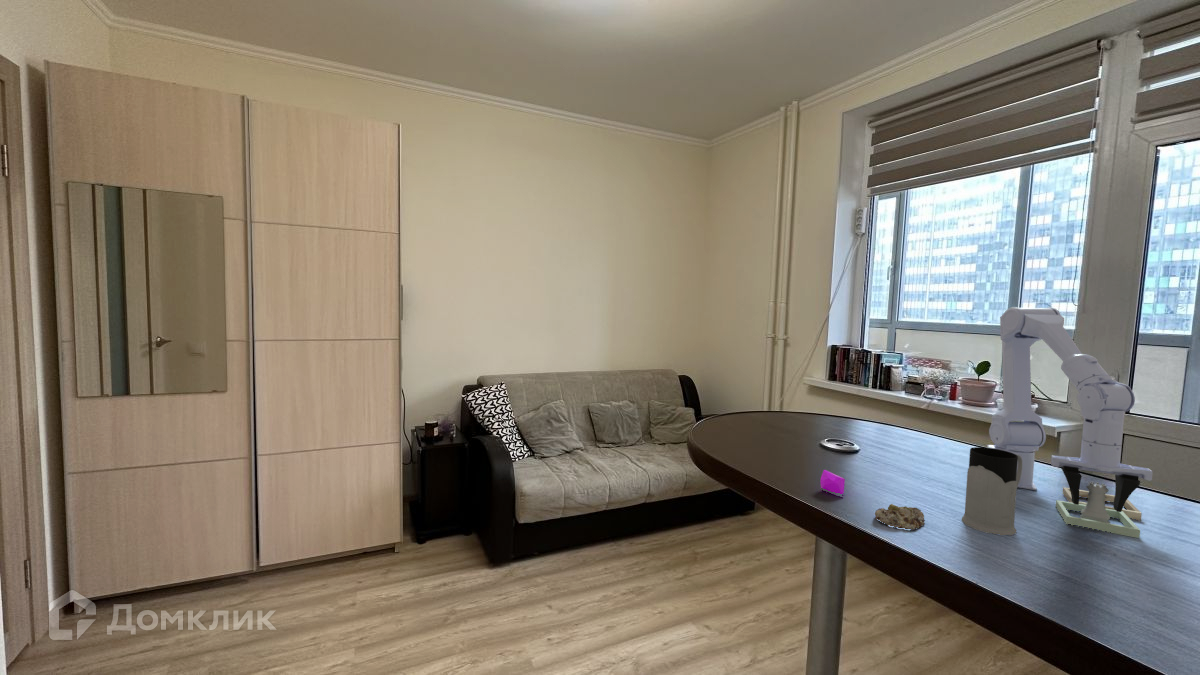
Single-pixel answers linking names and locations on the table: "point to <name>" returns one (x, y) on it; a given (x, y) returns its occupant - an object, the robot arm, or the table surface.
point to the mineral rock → (901, 517)
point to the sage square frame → (1126, 530)
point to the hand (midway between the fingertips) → (1095, 506)
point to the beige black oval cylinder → (992, 490)
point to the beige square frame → (1130, 512)
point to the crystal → (832, 482)
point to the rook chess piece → (1096, 503)
